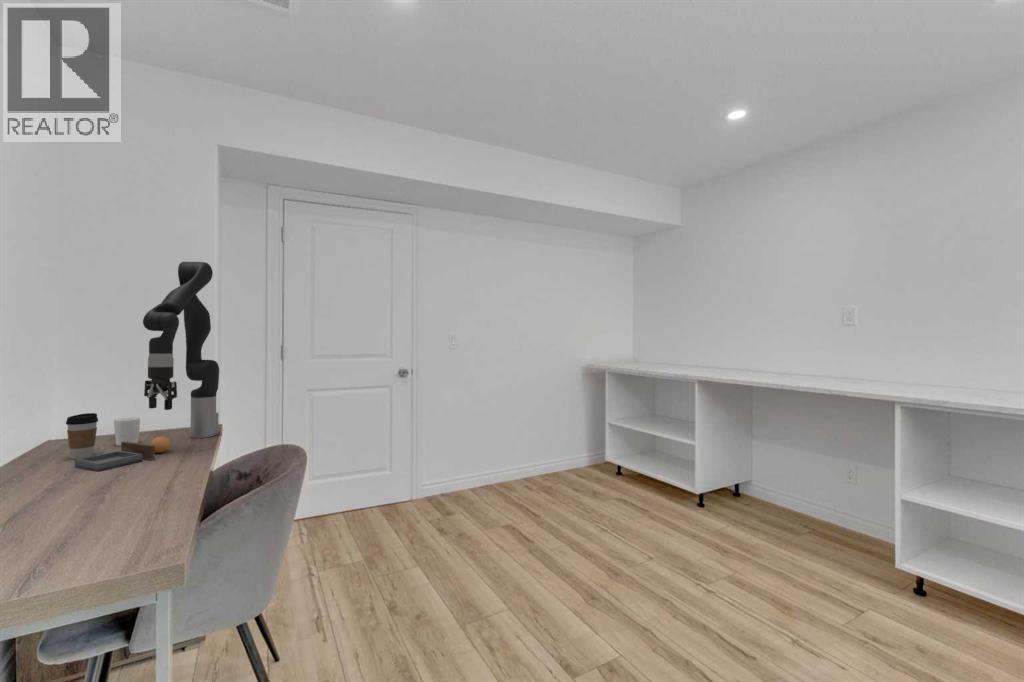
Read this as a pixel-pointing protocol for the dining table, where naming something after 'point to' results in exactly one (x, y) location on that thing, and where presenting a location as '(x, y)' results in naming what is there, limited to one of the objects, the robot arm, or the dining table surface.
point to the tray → (108, 460)
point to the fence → (139, 449)
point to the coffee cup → (82, 434)
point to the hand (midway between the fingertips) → (160, 408)
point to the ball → (160, 444)
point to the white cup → (127, 429)
